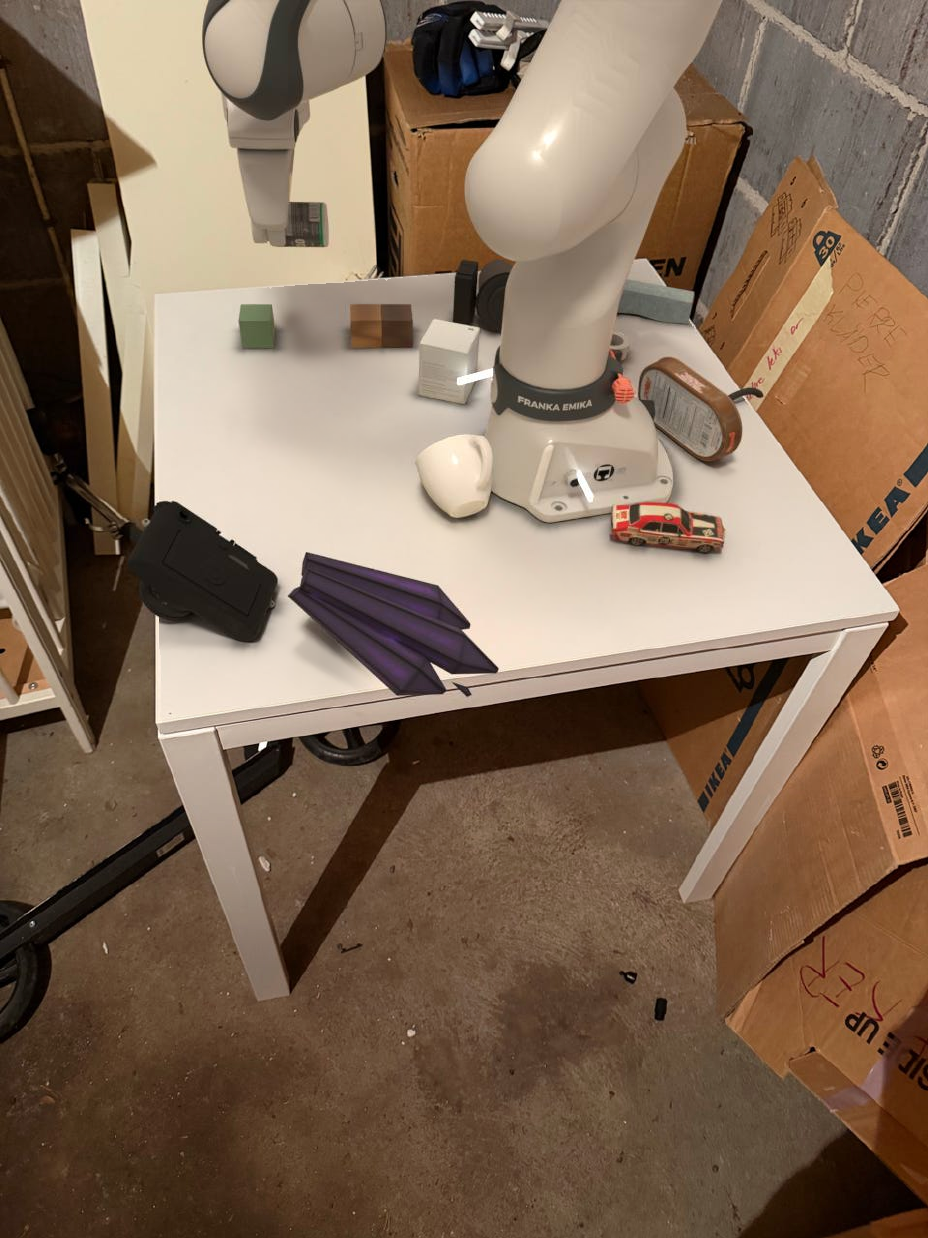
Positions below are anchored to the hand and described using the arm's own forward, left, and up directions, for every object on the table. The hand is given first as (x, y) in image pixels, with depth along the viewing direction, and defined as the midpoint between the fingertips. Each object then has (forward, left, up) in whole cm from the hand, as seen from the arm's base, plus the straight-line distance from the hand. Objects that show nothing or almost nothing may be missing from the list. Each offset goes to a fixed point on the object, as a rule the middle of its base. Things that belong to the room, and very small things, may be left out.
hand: (279, 230), depth 101 cm
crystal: (-2, +47, -9) cm, 47 cm away
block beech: (-10, -4, -16) cm, 19 cm away
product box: (-20, +7, -17) cm, 26 cm away
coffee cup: (-28, -15, -14) cm, 35 cm away
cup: (-20, +33, -13) cm, 41 cm away
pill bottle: (-6, 0, +1) cm, 6 cm away
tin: (-47, +18, -17) cm, 53 cm away
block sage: (+4, -4, -16) cm, 17 cm away
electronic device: (-37, +2, -17) cm, 40 cm away
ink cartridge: (-23, -7, -16) cm, 29 cm away
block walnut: (-14, -4, -16) cm, 22 cm away
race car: (-41, +35, -17) cm, 56 cm away
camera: (+8, +47, -13) cm, 49 cm away
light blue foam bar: (-44, -12, -14) cm, 48 cm away
